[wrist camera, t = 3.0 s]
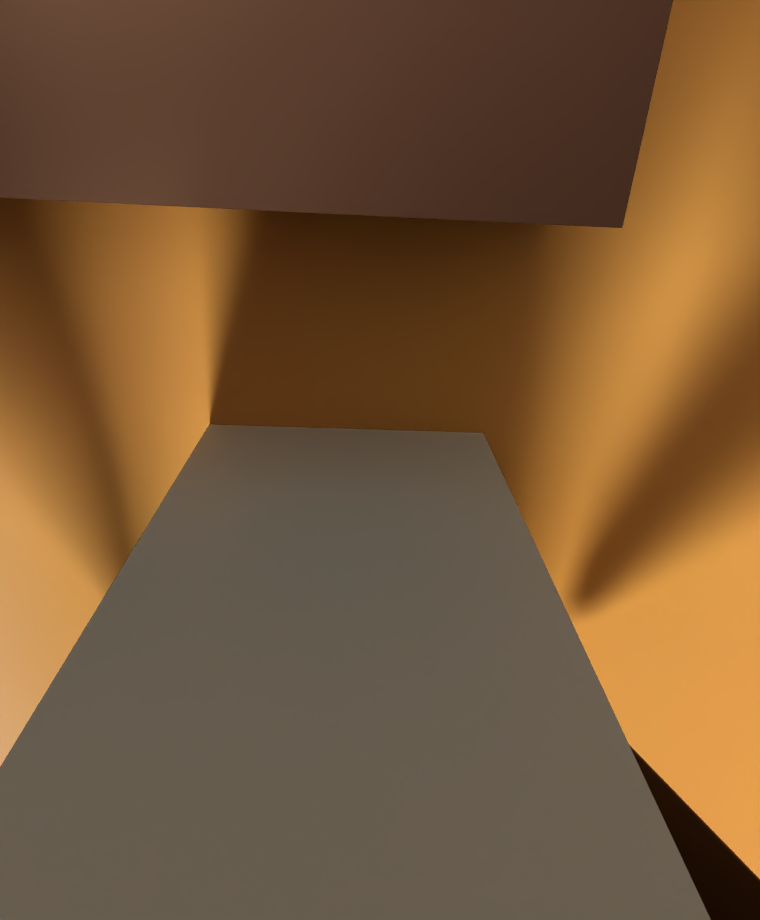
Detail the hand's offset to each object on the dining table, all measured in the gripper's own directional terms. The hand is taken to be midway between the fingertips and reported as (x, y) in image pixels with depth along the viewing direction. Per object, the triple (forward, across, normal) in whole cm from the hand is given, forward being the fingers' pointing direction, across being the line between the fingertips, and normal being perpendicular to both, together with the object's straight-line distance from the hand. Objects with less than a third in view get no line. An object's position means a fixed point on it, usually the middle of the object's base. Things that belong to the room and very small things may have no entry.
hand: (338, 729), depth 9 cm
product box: (+2, 0, 0) cm, 2 cm away
